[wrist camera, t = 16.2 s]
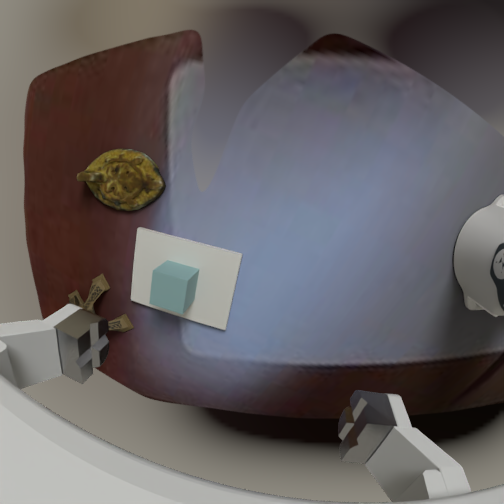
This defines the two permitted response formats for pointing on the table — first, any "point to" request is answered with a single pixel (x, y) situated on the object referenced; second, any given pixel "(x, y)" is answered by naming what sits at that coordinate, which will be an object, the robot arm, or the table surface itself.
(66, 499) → the robot arm
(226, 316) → the board
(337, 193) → the table surface
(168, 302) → the cube
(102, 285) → the eiffel tower
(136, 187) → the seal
